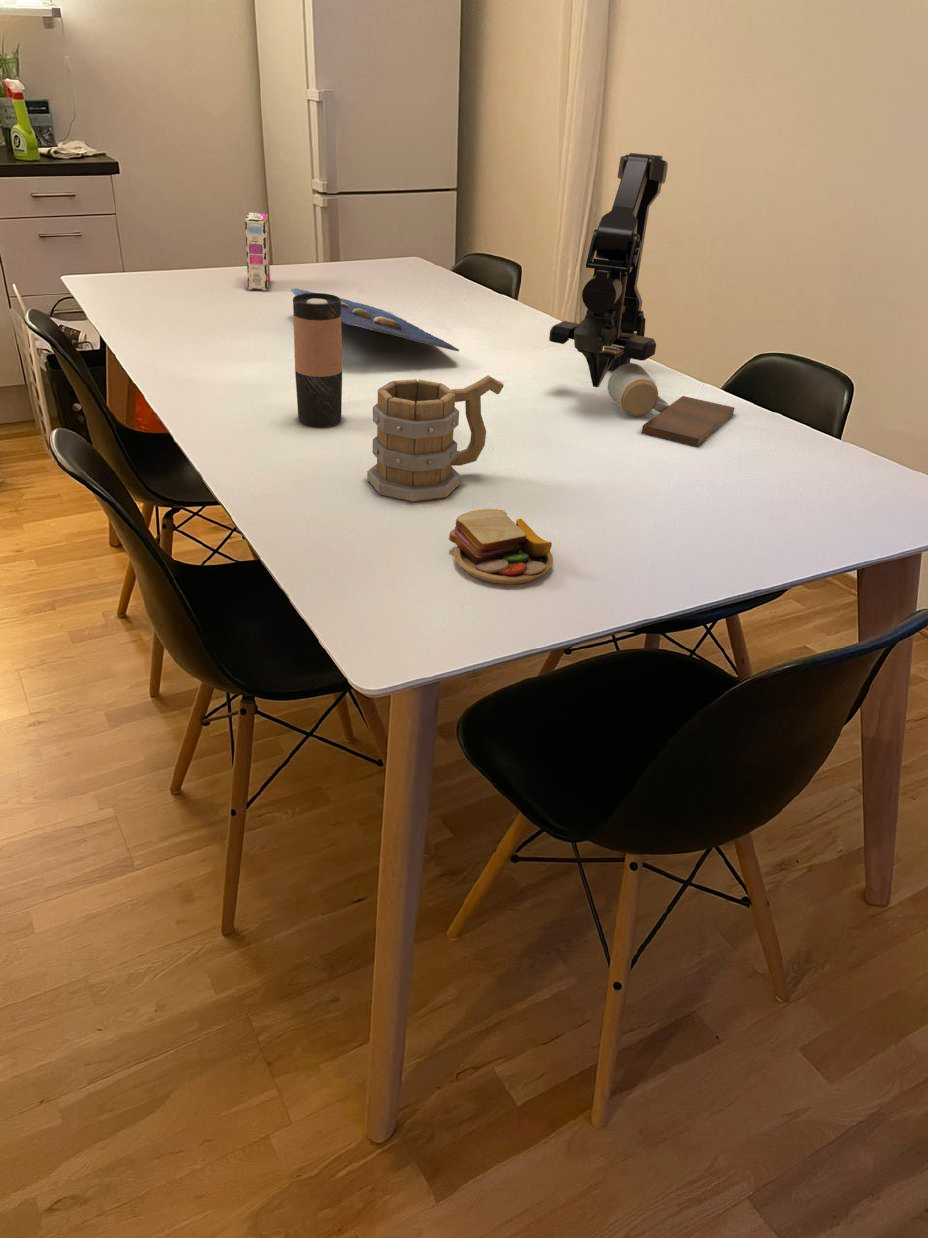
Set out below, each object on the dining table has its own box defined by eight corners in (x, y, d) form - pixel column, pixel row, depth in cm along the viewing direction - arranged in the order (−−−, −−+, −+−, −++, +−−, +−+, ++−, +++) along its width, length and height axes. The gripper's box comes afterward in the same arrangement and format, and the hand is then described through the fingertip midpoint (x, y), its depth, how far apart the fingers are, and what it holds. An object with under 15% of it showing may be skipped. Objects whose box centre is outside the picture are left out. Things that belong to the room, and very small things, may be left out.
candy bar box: (268, 291, 235) (265, 220, 226) (247, 290, 234) (243, 219, 225) (271, 281, 244) (268, 212, 235) (251, 280, 243) (247, 211, 235)
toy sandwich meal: (479, 595, 114) (481, 559, 111) (435, 545, 124) (436, 512, 121) (570, 578, 118) (574, 544, 116) (521, 532, 129) (524, 500, 126)
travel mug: (350, 416, 163) (349, 296, 152) (330, 431, 156) (328, 306, 146) (309, 409, 165) (306, 290, 154) (288, 423, 158) (283, 300, 148)
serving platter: (269, 327, 215) (280, 275, 211) (379, 353, 229) (391, 305, 225) (331, 374, 180) (345, 313, 176) (457, 401, 193) (473, 345, 189)
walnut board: (681, 403, 179) (682, 395, 178) (733, 415, 175) (734, 407, 174) (641, 433, 164) (642, 424, 163) (697, 446, 160) (698, 438, 159)
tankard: (387, 505, 133) (389, 401, 125) (359, 471, 143) (359, 372, 135) (515, 489, 141) (524, 390, 133) (480, 457, 150) (486, 363, 143)
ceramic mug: (618, 418, 169) (625, 376, 165) (604, 403, 176) (610, 361, 172) (674, 418, 172) (682, 376, 168) (657, 403, 178) (665, 362, 174)
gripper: (540, 299, 166) (531, 386, 174) (640, 318, 159) (626, 409, 167) (567, 288, 174) (557, 372, 183) (663, 306, 167) (649, 393, 175)
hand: (596, 386), depth 177 cm, fingers closed
